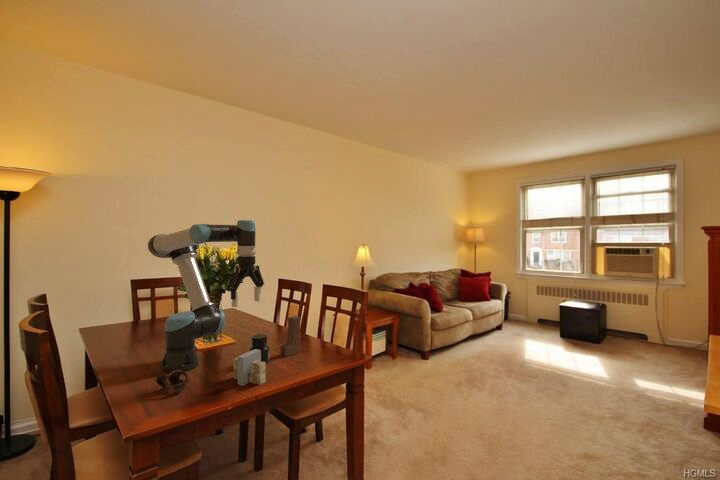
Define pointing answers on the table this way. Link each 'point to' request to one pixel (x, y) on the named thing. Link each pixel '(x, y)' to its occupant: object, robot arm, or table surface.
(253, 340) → the ink bottle
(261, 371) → the slotted board
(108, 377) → the table surface
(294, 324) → the wooden block
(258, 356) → the slotted plate
